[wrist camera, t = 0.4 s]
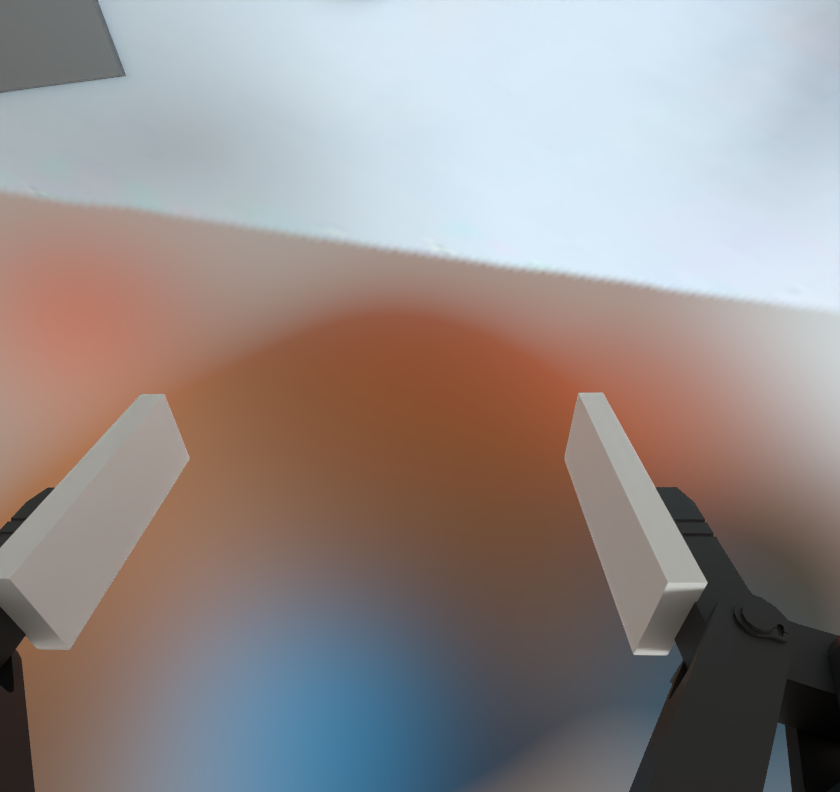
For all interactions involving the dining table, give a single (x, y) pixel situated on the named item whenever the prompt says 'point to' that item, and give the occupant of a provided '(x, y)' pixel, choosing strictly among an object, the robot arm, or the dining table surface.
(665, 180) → the dining table surface
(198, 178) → the dining table surface
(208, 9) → the dining table surface
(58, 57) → the rubber pad
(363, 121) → the dining table surface
